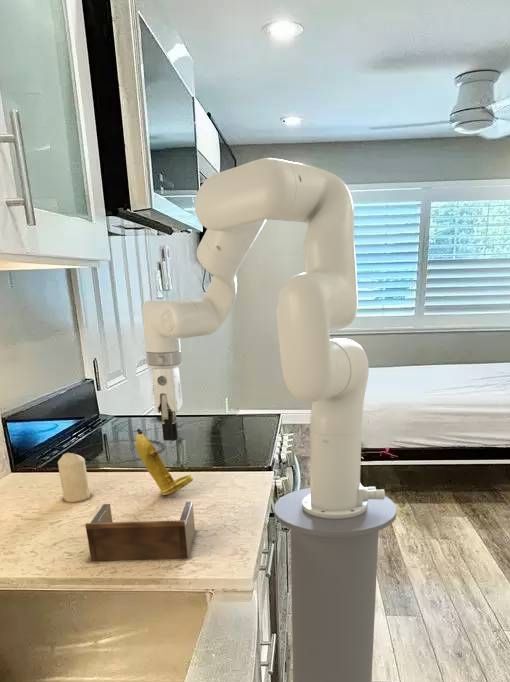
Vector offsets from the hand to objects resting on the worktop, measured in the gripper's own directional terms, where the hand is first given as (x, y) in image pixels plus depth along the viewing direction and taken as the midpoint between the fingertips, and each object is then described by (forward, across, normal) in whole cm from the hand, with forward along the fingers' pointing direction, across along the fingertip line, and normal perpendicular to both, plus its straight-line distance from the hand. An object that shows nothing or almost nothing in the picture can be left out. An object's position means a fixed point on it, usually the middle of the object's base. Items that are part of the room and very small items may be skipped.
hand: (170, 439), depth 133 cm
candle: (+10, -12, +20) cm, 25 cm away
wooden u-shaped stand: (+9, -37, 0) cm, 38 cm away
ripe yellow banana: (+9, -12, 0) cm, 15 cm away
